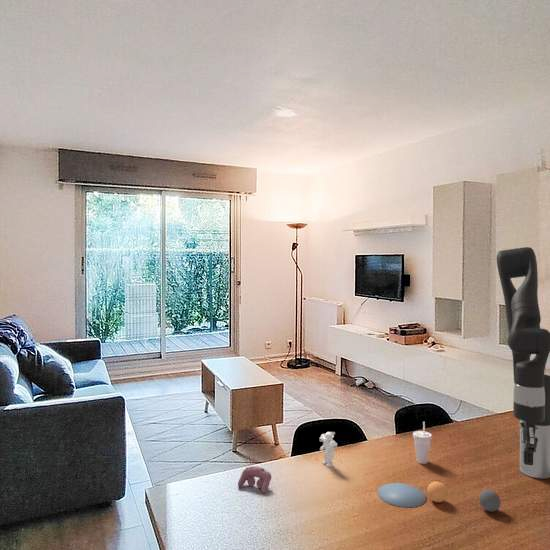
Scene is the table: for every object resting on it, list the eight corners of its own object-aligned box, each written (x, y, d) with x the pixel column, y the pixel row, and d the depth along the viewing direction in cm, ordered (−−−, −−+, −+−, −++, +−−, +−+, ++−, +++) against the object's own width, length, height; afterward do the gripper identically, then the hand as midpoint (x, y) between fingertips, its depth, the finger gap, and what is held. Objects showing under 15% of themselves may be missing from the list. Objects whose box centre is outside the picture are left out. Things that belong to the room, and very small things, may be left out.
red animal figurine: (270, 494, 142) (274, 470, 144) (264, 493, 138) (268, 469, 141) (242, 488, 146) (246, 464, 149) (235, 487, 142) (240, 463, 145)
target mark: (411, 481, 146) (411, 481, 146) (435, 504, 133) (435, 503, 133) (370, 486, 143) (370, 485, 143) (390, 509, 130) (390, 509, 130)
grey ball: (491, 504, 133) (491, 485, 132) (504, 514, 127) (505, 494, 127) (474, 506, 131) (474, 487, 131) (487, 516, 126) (487, 496, 126)
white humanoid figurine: (339, 468, 156) (339, 433, 156) (329, 470, 154) (329, 435, 154) (326, 458, 164) (326, 424, 164) (316, 460, 163) (316, 426, 162)
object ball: (440, 495, 138) (440, 477, 137) (451, 504, 132) (451, 486, 132) (423, 497, 136) (423, 479, 136) (433, 507, 131) (433, 488, 131)
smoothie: (432, 466, 157) (433, 425, 157) (413, 464, 159) (413, 424, 158) (430, 458, 164) (430, 419, 163) (411, 456, 165) (411, 418, 165)
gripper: (510, 393, 133) (510, 452, 133) (516, 406, 120) (515, 472, 121) (540, 395, 130) (539, 456, 130) (549, 409, 118) (548, 476, 118)
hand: (528, 463), depth 125 cm, fingers closed
